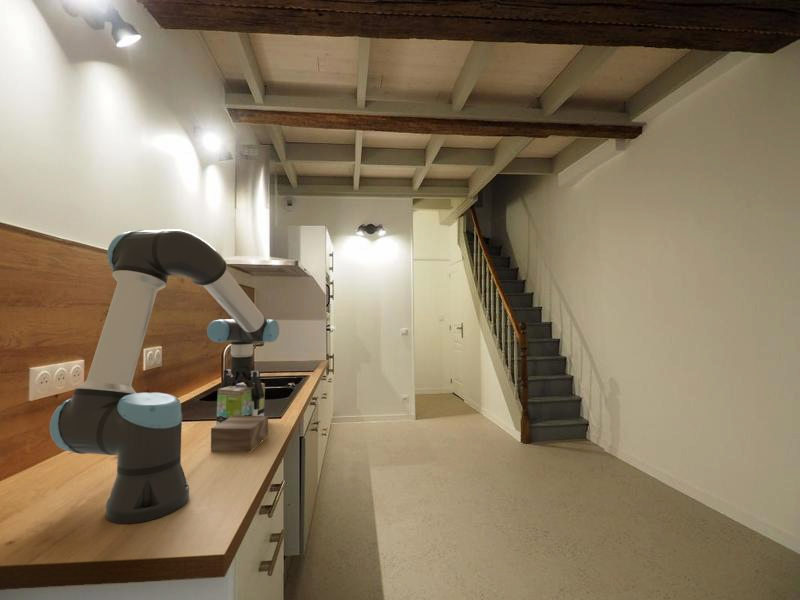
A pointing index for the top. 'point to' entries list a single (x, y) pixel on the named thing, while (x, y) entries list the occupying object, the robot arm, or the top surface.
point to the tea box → (236, 402)
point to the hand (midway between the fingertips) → (241, 417)
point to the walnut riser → (239, 433)
